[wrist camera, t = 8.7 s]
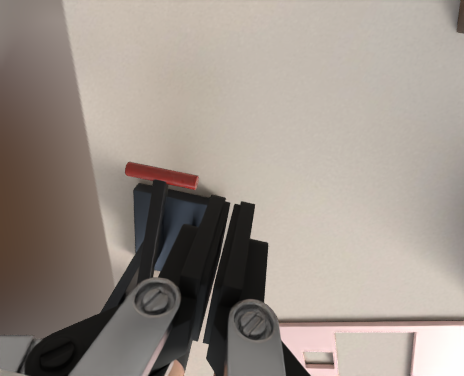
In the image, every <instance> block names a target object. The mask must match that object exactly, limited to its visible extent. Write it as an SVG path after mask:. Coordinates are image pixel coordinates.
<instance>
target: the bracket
mask: <svg viewBox="0 0 464 376" xmlns="http://www.w3.org/2000/svg"><path fill="white" fill-rule="evenodd" d="M151 192H152V186H150V185H145V184H141V183H138V185H137V186H136V187H135V188H134V190H133V194H134V223H135V252H136V254H135V256H134V257H133V259H132V261H131V262H130V264H129V266H128V267H127V269H126V271H125V272H124V274H123V276H122V277H121V279H120V281H119V282H118V284H117V286H116V287H115V289H114V291H113V292H112V294H111V296H110V297H109V299H108V301H107V302H106V304H105V306H104V308H103V309H102V311H101V312H100V313H102V312H104V311H106V310H109V309H111V308H113V307H116V306H118V305H120V304H122V303H123V302H124V300H125V299H126V298H127V296H128V295H129V294H130V292H131V291H132V290H133V288H134V287H135V286H136V285H137V279H138V273H139V267H140V260H141V254H142V248H143V242H144V236H145V229H146V223H147V217H148V211H149V205H150V198H151ZM209 200H210V198H208V197H203V196H198V195H193V194H189V193H184V192H179V191H174V190H169V189H168V191H167V197H166V203H165V209H164V215H163V221H162V227H161V233H160V239H159V245H158V251H157V257H156V262H155V268H154V270H157V271H161V270H162V268H163V266H164V264H165V261H166V259H167V257H168V255H169V253H170V251H171V248H172V246H173V244H174V242H175V240H176V238H177V236H178V233H179V231H180V229H181V227H182V225H183V224H187V225H192V226H196V227H199V226H200V223H201V220H202V218H203V215H204V213H205V210H206V207H207V205H208V202H209Z"/></svg>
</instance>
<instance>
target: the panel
mask: <svg viewBox="0 0 464 376" xmlns="http://www.w3.org/2000/svg"><path fill="white" fill-rule="evenodd" d="M279 328H280V335H281V340H282V341H283V343H284V344H285V345H286V346H287V347H288V349H289V350H290V351H291V352H292V353H293V355H294V356H295V357H296V358H297V360H298V361H299V362H300V363H301V364H302V366H303V367H304V368H305V369H306V370H307V372H308V373H309V374H310V375H311V376H339V372H338V362H337V353H336V343H335V333H334V332H414V341H413V351H412V361H411V372H410V376H464V321H401V322H299V323H279ZM303 352H333V359H334V365H329V364H305V360H304V354H303Z"/></svg>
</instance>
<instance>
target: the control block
mask: <svg viewBox="0 0 464 376" xmlns="http://www.w3.org/2000/svg"><path fill="white" fill-rule="evenodd" d="M457 32H458V33H463V34H464V0H461V1H460V9H459V17H458V25H457Z"/></svg>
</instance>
